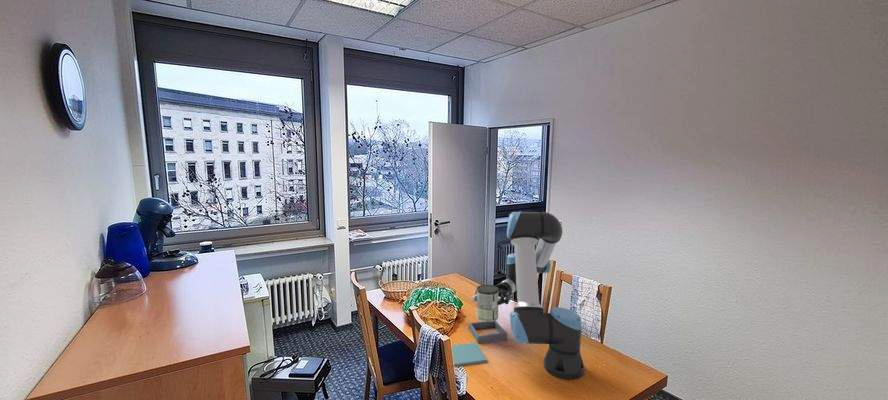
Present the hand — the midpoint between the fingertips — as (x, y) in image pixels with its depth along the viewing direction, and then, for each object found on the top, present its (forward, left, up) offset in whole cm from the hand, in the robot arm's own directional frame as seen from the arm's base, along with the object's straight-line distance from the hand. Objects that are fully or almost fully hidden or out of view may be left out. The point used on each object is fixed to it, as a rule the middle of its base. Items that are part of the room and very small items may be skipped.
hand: (482, 302), depth 163 cm
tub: (+3, -3, -17) cm, 17 cm away
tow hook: (+26, +9, -17) cm, 32 cm away
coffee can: (+3, -3, -9) cm, 10 cm away
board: (-12, +12, -17) cm, 24 cm away
